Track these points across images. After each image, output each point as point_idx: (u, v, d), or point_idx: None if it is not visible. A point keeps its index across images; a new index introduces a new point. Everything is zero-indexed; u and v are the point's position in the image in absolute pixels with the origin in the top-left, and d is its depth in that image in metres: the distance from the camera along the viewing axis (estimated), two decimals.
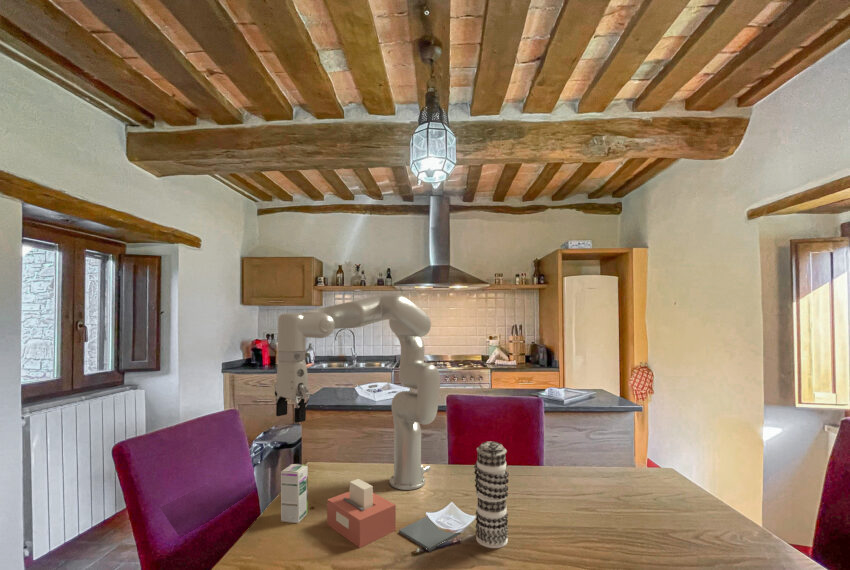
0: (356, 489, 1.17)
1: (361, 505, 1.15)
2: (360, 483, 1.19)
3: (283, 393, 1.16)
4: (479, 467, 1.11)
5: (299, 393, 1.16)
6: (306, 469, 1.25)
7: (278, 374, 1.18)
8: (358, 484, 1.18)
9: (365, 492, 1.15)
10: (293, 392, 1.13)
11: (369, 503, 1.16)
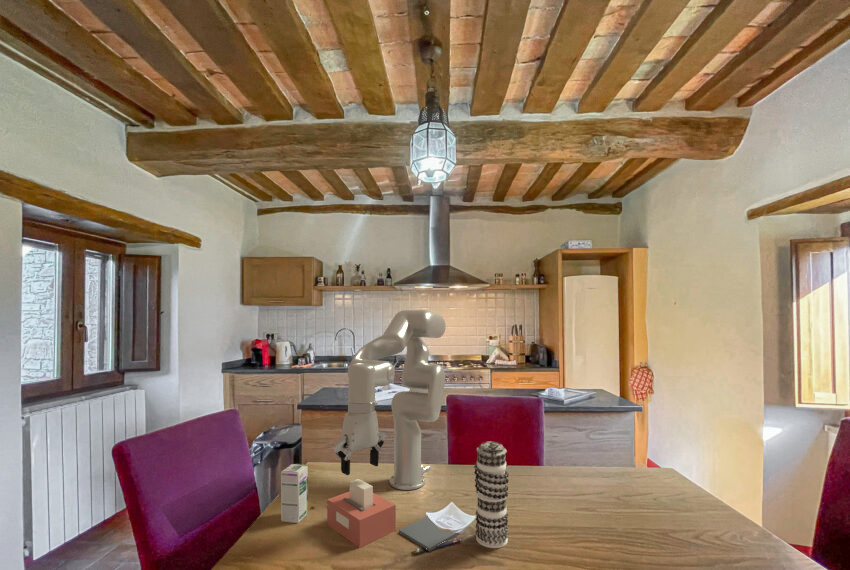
0: (356, 489, 1.17)
1: (361, 505, 1.15)
2: (360, 483, 1.19)
3: (364, 444, 1.17)
4: (479, 467, 1.11)
5: None
6: (306, 469, 1.25)
7: (357, 428, 1.15)
8: (358, 484, 1.18)
9: (365, 492, 1.15)
10: None
11: (369, 503, 1.16)
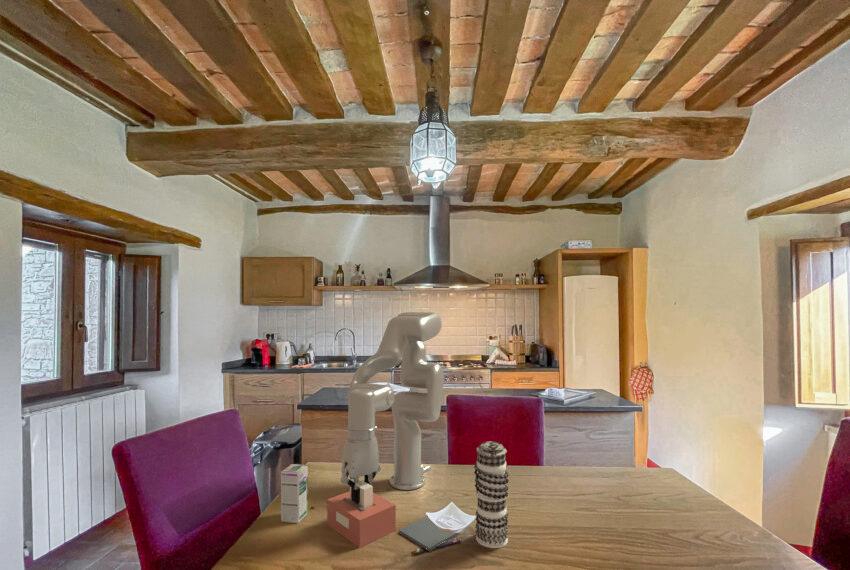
0: None
1: (361, 505, 1.15)
2: (360, 483, 1.19)
3: (365, 471, 1.17)
4: (479, 467, 1.11)
5: None
6: (306, 469, 1.25)
7: (357, 456, 1.15)
8: None
9: (365, 492, 1.15)
10: (378, 463, 1.20)
11: (369, 503, 1.16)
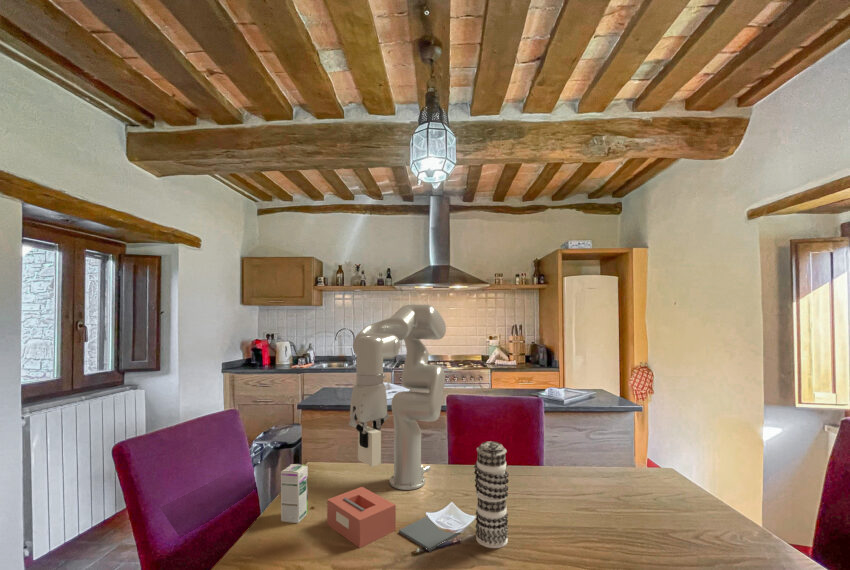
0: None
1: (369, 449, 1.16)
2: (368, 429, 1.19)
3: (373, 416, 1.17)
4: (479, 467, 1.11)
5: None
6: (306, 469, 1.25)
7: (365, 400, 1.15)
8: None
9: (373, 436, 1.15)
10: (386, 409, 1.21)
11: (377, 447, 1.16)
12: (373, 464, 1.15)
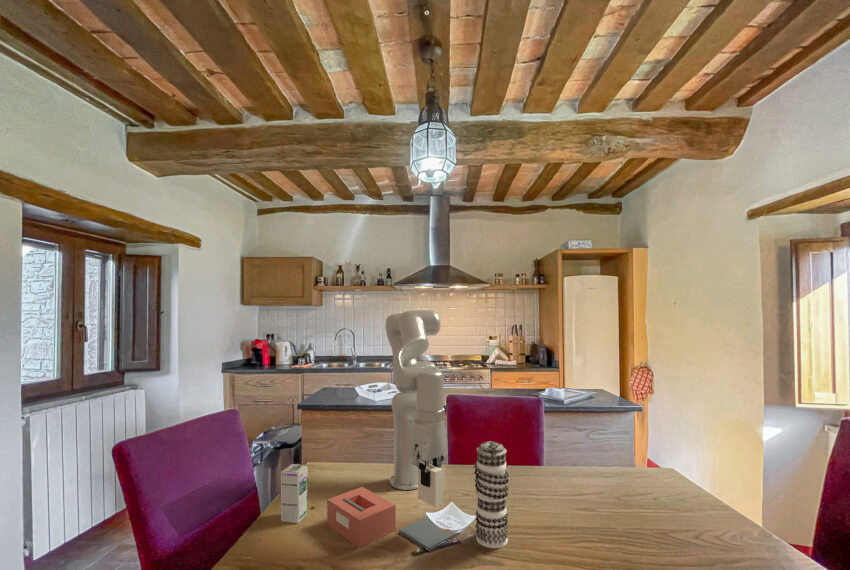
0: None
1: (432, 488, 1.12)
2: (429, 466, 1.16)
3: (435, 454, 1.14)
4: (479, 467, 1.11)
5: None
6: (306, 469, 1.25)
7: (428, 437, 1.12)
8: None
9: (436, 475, 1.12)
10: (446, 446, 1.17)
11: (440, 486, 1.13)
12: (436, 504, 1.12)
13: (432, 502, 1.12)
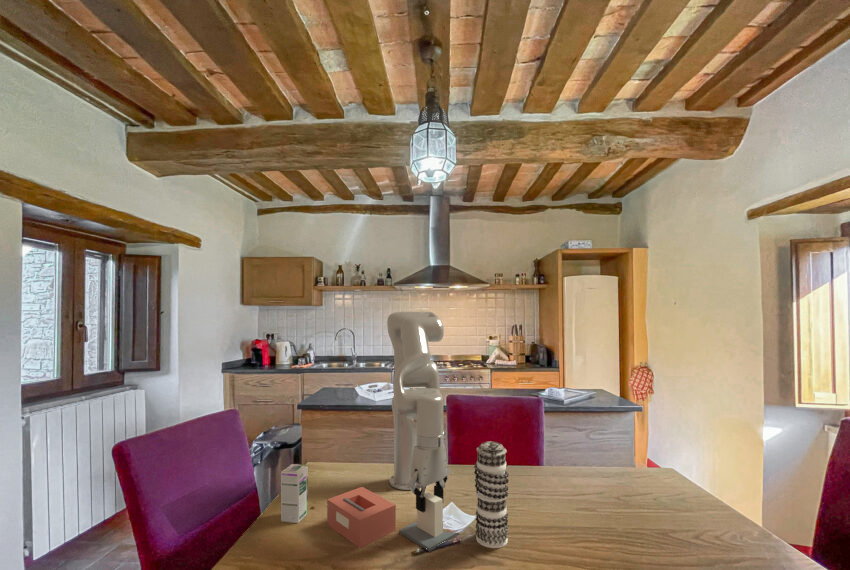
0: None
1: (431, 518, 1.13)
2: (428, 495, 1.16)
3: (434, 478, 1.14)
4: (479, 467, 1.11)
5: None
6: (306, 469, 1.25)
7: (428, 463, 1.12)
8: (427, 497, 1.15)
9: (436, 505, 1.12)
10: (446, 470, 1.17)
11: (439, 516, 1.13)
12: (436, 534, 1.12)
13: (431, 532, 1.12)
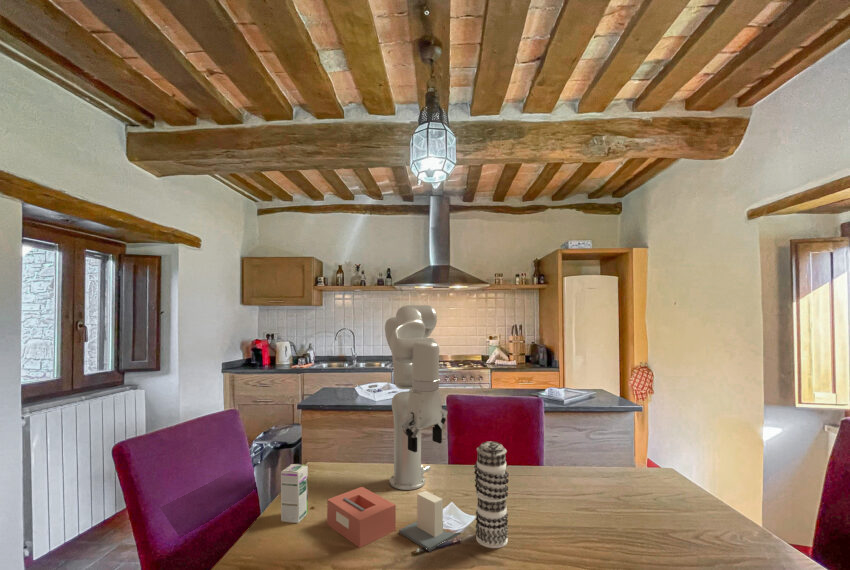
0: (425, 502, 1.15)
1: (431, 518, 1.13)
2: (428, 495, 1.16)
3: (430, 422, 1.16)
4: (479, 467, 1.11)
5: None
6: (306, 469, 1.25)
7: (423, 406, 1.14)
8: (427, 497, 1.15)
9: (436, 505, 1.12)
10: (441, 415, 1.20)
11: (439, 516, 1.13)
12: (436, 534, 1.12)
13: (431, 532, 1.12)
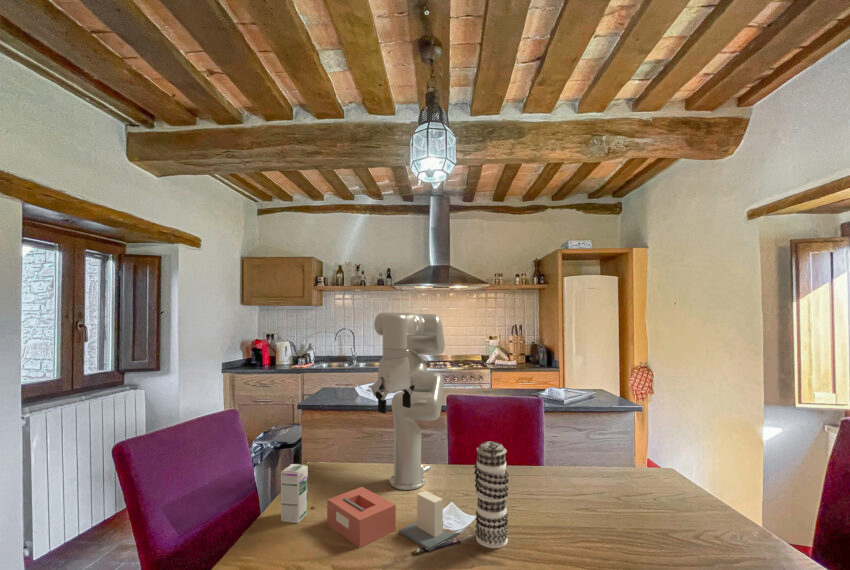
0: (425, 502, 1.15)
1: (431, 518, 1.13)
2: (428, 495, 1.16)
3: (398, 387, 1.27)
4: (479, 467, 1.11)
5: None
6: (306, 469, 1.25)
7: (392, 371, 1.26)
8: (427, 497, 1.15)
9: (436, 505, 1.12)
10: (410, 381, 1.31)
11: (439, 516, 1.13)
12: (436, 534, 1.12)
13: (431, 532, 1.12)
